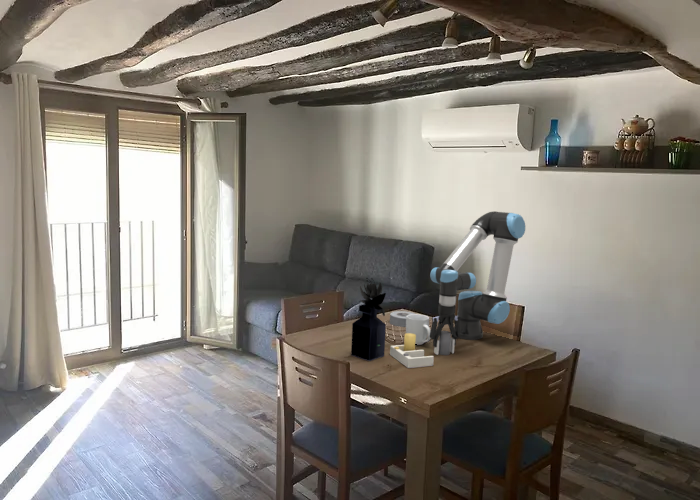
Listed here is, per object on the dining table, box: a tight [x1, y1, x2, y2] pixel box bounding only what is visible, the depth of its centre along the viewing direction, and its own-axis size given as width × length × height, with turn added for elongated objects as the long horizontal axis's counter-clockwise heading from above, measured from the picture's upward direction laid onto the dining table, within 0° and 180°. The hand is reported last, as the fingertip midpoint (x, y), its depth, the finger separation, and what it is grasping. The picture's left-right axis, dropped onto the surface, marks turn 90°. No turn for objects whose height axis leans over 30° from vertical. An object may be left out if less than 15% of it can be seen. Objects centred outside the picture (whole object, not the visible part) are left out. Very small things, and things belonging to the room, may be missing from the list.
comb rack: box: [389, 344, 435, 369], centre depth 239 cm, size 12×18×5 cm, turn 21°
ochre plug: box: [403, 332, 416, 351], centre depth 243 cm, size 5×5×10 cm
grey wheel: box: [389, 310, 416, 328], centre depth 298 cm, size 15×15×5 cm
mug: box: [405, 313, 431, 346], centre depth 261 cm, size 15×11×13 cm
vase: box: [350, 277, 387, 362], centre depth 240 cm, size 14×12×35 cm
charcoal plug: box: [438, 330, 452, 356], centre depth 249 cm, size 5×5×10 cm
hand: (443, 352), depth 250 cm, fingers open, 7 cm apart
